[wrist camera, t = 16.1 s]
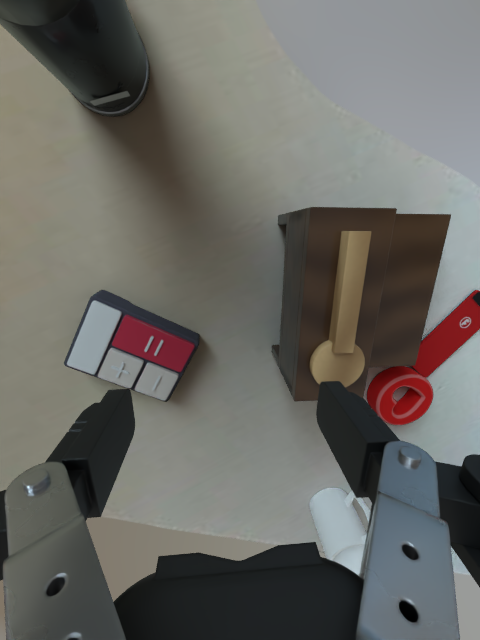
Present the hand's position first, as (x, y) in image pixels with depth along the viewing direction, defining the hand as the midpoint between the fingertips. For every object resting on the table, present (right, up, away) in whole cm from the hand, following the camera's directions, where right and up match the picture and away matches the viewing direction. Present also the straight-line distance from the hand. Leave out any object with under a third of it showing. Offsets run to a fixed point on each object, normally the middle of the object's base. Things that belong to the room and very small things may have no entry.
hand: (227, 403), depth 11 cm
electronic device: (+34, +1, +32) cm, 47 cm away
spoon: (+11, +3, +16) cm, 19 cm away
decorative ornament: (+27, -9, +35) cm, 45 cm away
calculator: (-15, 0, +29) cm, 32 cm away
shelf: (+16, +8, +28) cm, 33 cm away
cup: (+19, -32, +42) cm, 56 cm away
